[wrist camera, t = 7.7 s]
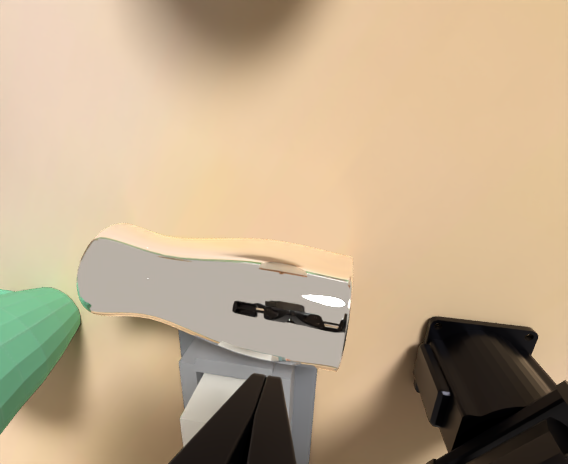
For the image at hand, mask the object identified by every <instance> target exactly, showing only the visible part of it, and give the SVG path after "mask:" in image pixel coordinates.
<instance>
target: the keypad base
mask: <svg viewBox="0 0 568 464" xmlns="http://www.w3.org/2000/svg"><path fill="white" fill-rule="evenodd" d="M178 331H179V340H180V348H181V357H182V358H181V360H180V361H179V368H180V376H181V384H182V393H183V401H184V409H185V408H186V406H187V404H188V402H189V400H190V398H191V397H192V395H193V393H194V391H195V389H196V387H197V385H198V383H199V382H200V380H201V378H202V376H203V374H204V373H208V374H214V375H221V376H227V377H233V378H239V379H245V380H247V378H248V377H249V376H250V375H251V374H253V373H259V374H265V375H266V376H268V375H271V376H278V377H281V379H282V384H283V390H284V395H285V401H286V407H287V412H288V418H289V424H290V429H291V435H292V441H293V446H294V452H295V458H296V463H297V464H309V456H310V445H311V433H312V422H313V410H314V399H315V387H316V376H317V369H316V368H308V367H300V366H293V365H286V364H280V363H275V362H270V361H264V360H260V359H256V358H252V357H248V356H245V355H241V354H238V353H235V352H232V351H229V350H227V349H224V348H221V347H219V346H216V345H214V344H211V343H209V342H207V341H204V340H202V339H200V338H197V337H195V336H193V335H191V334H188V333H186V332H184V331H182V330H179V329H178Z"/></svg>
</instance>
